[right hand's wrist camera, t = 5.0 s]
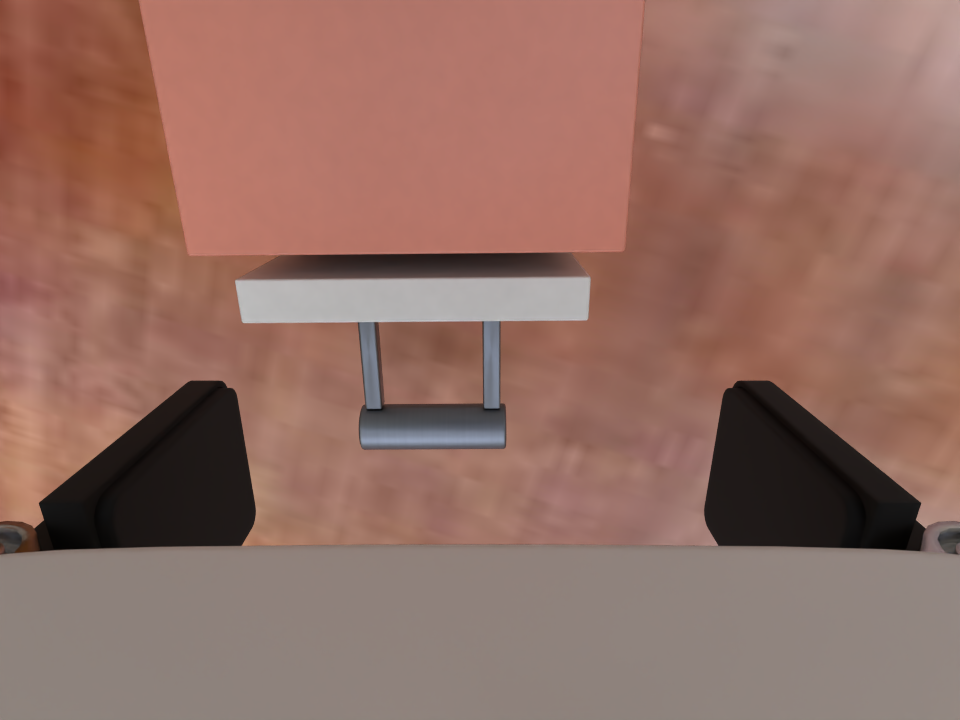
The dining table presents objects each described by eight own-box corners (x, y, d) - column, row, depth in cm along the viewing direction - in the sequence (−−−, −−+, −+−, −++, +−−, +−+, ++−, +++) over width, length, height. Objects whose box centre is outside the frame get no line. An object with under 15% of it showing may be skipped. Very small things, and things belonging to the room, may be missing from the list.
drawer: (546, 389, 26) (577, 511, 17) (342, 390, 26) (272, 512, 17) (570, -314, 17) (652, -756, 9) (268, -309, 17) (63, -741, 9)
